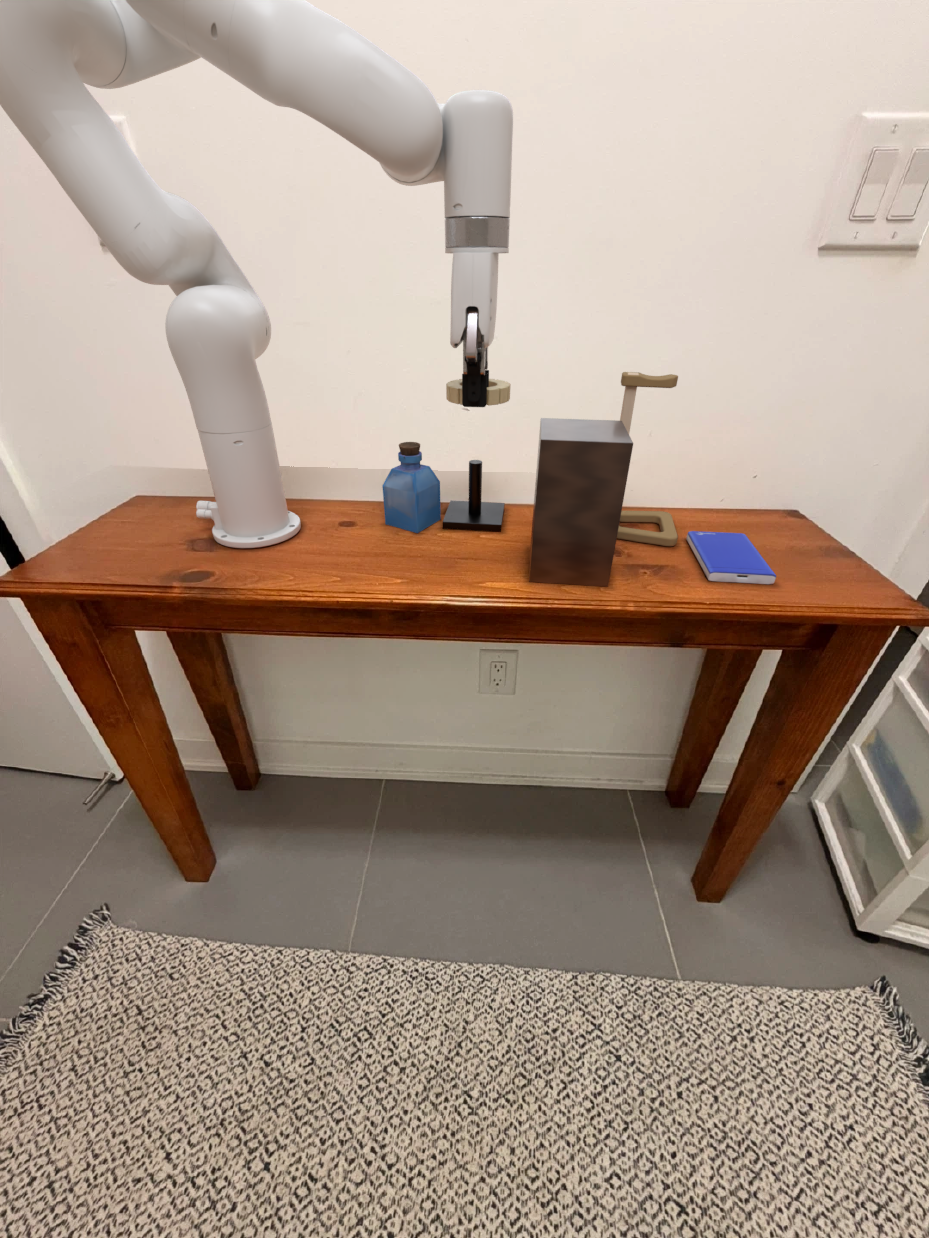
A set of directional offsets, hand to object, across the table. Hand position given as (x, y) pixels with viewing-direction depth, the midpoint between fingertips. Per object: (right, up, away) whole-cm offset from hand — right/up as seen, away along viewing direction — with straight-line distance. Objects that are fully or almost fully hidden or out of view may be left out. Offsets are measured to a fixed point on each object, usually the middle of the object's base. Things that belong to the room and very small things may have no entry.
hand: (475, 402), depth 74 cm
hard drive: (+35, -22, +1) cm, 41 cm away
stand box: (+12, -22, 0) cm, 25 cm away
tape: (0, +2, +3) cm, 3 cm away
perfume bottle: (-10, -14, +12) cm, 21 cm away
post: (0, -13, +13) cm, 19 cm away
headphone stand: (+25, -16, +10) cm, 31 cm away
